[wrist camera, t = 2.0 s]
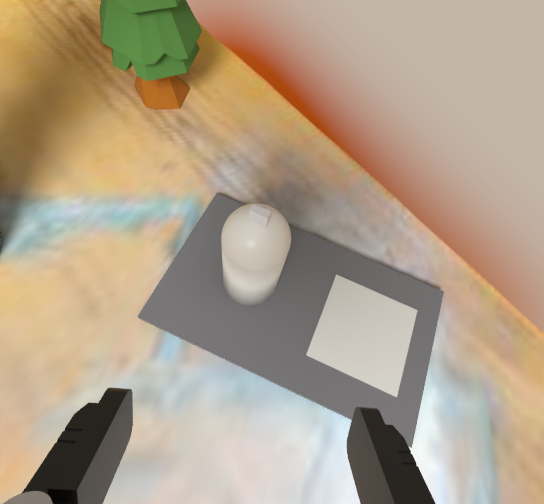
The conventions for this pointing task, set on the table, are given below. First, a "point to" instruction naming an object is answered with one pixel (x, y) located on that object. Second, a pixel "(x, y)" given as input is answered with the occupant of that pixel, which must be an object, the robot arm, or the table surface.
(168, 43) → the decorative tree
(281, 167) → the table surface
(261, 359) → the mat
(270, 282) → the white rounded cylinder
